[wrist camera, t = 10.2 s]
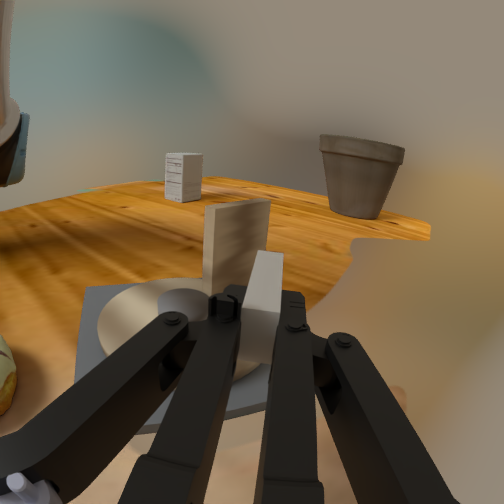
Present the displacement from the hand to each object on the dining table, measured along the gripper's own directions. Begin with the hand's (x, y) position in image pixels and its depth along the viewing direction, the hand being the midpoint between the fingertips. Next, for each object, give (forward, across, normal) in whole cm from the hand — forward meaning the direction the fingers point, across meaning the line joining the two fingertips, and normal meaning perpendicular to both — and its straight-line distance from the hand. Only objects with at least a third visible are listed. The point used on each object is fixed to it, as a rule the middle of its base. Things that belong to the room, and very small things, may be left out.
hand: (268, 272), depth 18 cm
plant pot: (+70, +22, -9) cm, 73 cm away
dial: (+5, -6, -8) cm, 11 cm away
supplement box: (+61, -26, -9) cm, 67 cm away
